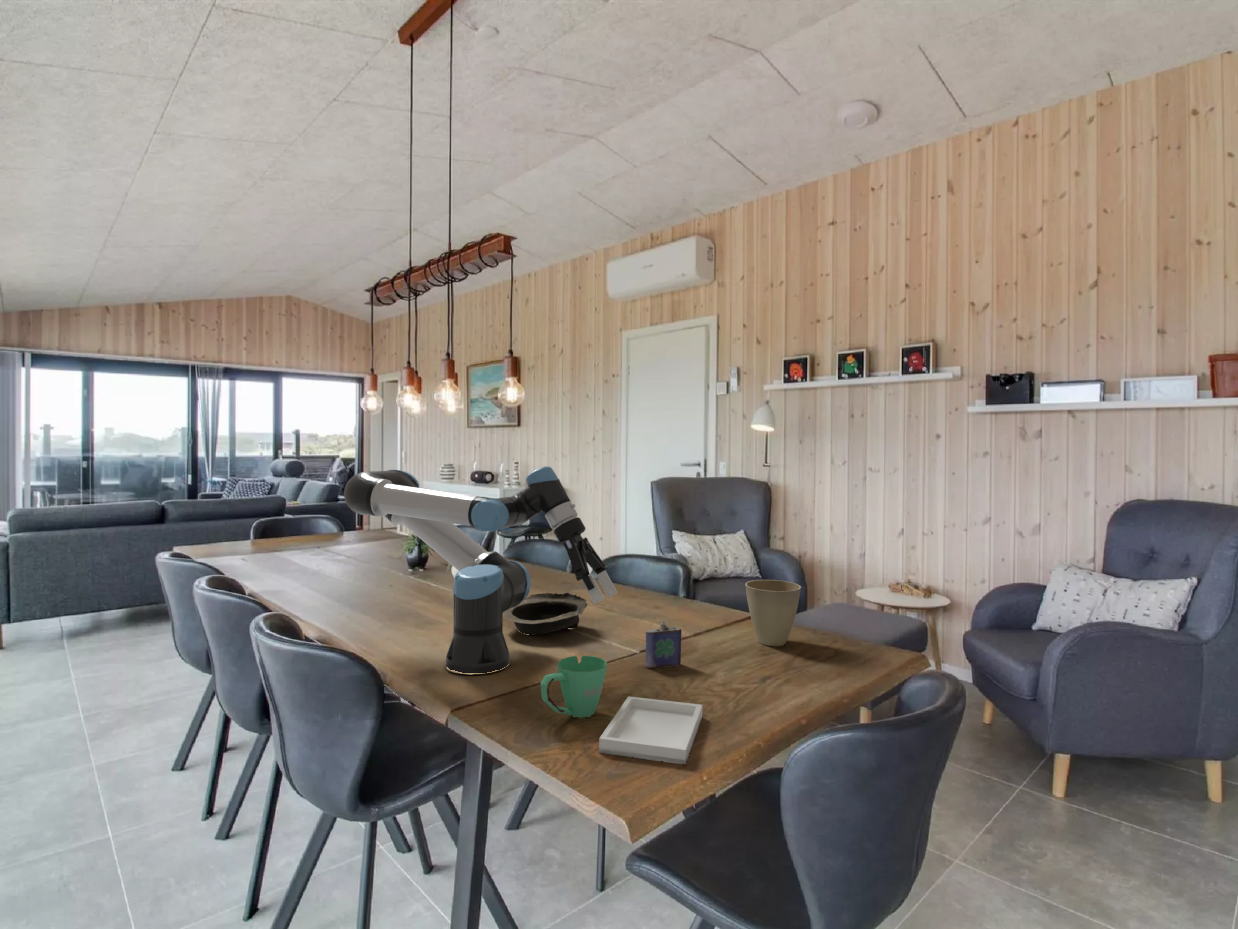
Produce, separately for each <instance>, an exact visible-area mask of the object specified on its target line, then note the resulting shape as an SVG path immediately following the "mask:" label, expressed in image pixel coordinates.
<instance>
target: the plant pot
mask: <svg viewBox="0 0 1238 929" xmlns="http://www.w3.org/2000/svg"><path fill="white" fill-rule="evenodd" d="M744 586H745V593H746V599H747V600H746V601H747V606H748V611H749V614H750V618H751V623H752V626H753V629H754V633H755V635H756V638H757V640H758V643H759V644H761V645H763V646H771V647H781V646H784V644H785V645H786V643H787V641H788V639H789V636H790V633H791V632H792V628H793V625H794V622H795V619H796V615H797V611H798V607H799V602H800V595H801V589H802V586H801V585H799V583H794V582H791V581H785V580H776V579H755V580H753V579H752V580H749V581H747V582H745V584H744Z"/></svg>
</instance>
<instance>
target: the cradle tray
mask: <svg viewBox="0 0 1238 929" xmlns="http://www.w3.org/2000/svg"><path fill="white" fill-rule="evenodd" d="M702 719H703V704H697V703H689V702H681V701H672V700H663V699H655V698H647V697H639V696H638V697H636V696H629V695H628V696H627V698H626V699H625V701H624V702H623V703H622V705H621V706H620V707H619V709H618V711H617V712H616V714H615V715H614V717H613V718H612V719H611V721H609V724H608V725H607V726H606V727H605V729H604V731H603V733H602V734H601V735H600V737H599V738H598V740H599V741H598V745H599V746H598V753H599V754H604V755H613V756H619V757H624V758H632V757H633V759H640V760H647V761H655V762H661V761H663V763H670V764H675V765H682V764H687V762H688V759H689V755H690V754H689V753H691V750H692V748H693V745H694V743H695V739H696V736H697V734H698V730H699V727H700V725H701V723H702V722H701V721H702ZM691 747H692V748H691ZM686 761H687V762H686Z"/></svg>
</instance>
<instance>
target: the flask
mask: <svg viewBox="0 0 1238 929" xmlns="http://www.w3.org/2000/svg"><path fill="white" fill-rule="evenodd" d="M659 624H660V626H659V628H654V629H648V630H645V660H644V661H645V662H644V665H645V668H646V667H647V668H649V669H651V668H655V667H665V668H669V667H668V666H670V667H673V666H674V667H679V665H680V666H681V664H682V663H681V661H682V654H681V653H682V629H681V628H679V627H678V626H677V627H676V626H674V625H673V626H667V625H666V622H665V621H664V620H663V621H660V622H659ZM666 666H667V667H666ZM647 668H646V669H647ZM655 669H656V668H655Z"/></svg>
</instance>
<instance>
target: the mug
mask: <svg viewBox="0 0 1238 929" xmlns="http://www.w3.org/2000/svg"><path fill="white" fill-rule="evenodd" d="M607 664H608V662H607V661H606V660H605V659H603V658H601V657H599V656H593V655H592V656H591V655H582V657H581V659H580V661H579V660H578V657H577V655H574V656H573V655H571V656H568V657H564V658H561V659H560V660H558V662H557V664H556V665H557V668H556V669H557V672H555V673H554V672H552V673H549V674H545V675H544V676H543V677H542V679H541V681H540V693H541V694H540V695H541V700H543V702H544V703H545V704H546V705H547V706H549V707H550V708H551V709H552V710H553V711H554V712H555V713H559V714H563V715H569V716H571V715H572V716H575V717H588V716H591V715H592V714H595V712H596V710H597V707H598V704H599V701H600V698H601V695H602V691H603V687H604V682H605V679H606V673H607V666H608V665H607ZM556 681H558V682H560V683H559V684H560V690H561V692H562V696H563V699H564V702H565V706H566V707H563V706H559V705H558V704H556V702H555V701H554V700H553V698H552V697H551V696H550V686H551V684H552V683H553V682H556ZM572 716H571V717H572ZM575 717H574V718H575ZM591 717H592V716H591ZM588 718H589V717H588Z"/></svg>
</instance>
